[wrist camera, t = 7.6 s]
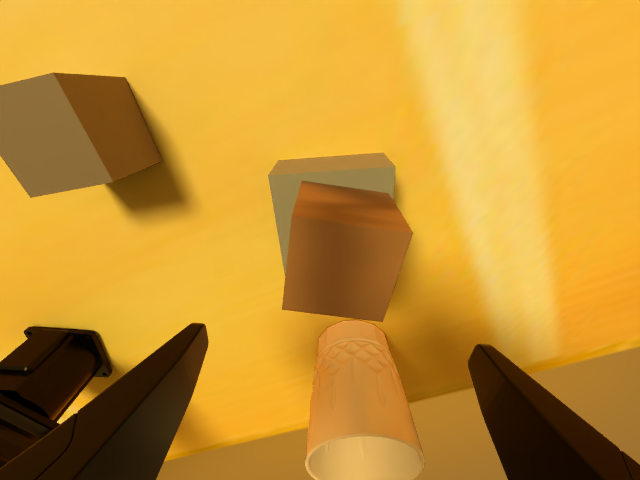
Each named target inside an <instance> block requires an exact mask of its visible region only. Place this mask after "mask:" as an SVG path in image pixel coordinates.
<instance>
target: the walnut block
mask: <svg viewBox="0 0 640 480" xmlns="http://www.w3.org/2000/svg"><path fill="white" fill-rule="evenodd" d="M412 234H413V232H412V231H411V229H410V227H409V226H408V224H407V222H406V221H405V219H404V217H403V216H402V214H401V212H400V211H399V209H398V208H397V206H396V204H395V203H394V201H393V199H392V198H391V196H390V194H389V193H383V192H377V191H370V190H363V189H356V188H349V187H342V186H336V185H329V184H322V183H315V182H308V181H301V184H300V188H299V192H298V195H297V199H296V202H295V206H294V209H293V213H292V217H291V227H290V237H289V247H288V256H287V266H286V276H285V286H284V296H283V305H282V310H290V311H298V312H306V313H314V314H322V315H330V316H339V317H347V318H355V319H363V320H371V321H379V322H383V319H384V316H385V313H386V310H387V308H388V305H389V302H390V299H391V296H392V293H393V290H394V287H395V284H396V281H397V278H398V275H399V272H400V270H401V267H402V264H403V261H404V258H405V255H406V252H407V249H408V246H409V243H410V240H411V237H412Z"/></svg>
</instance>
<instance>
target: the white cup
mask: <svg viewBox="0 0 640 480" xmlns="http://www.w3.org/2000/svg"><path fill="white" fill-rule="evenodd" d="M424 466H425V458H424V455H423V451H422V448H421V445H420V442H419V439H418V435H417V432H416V428H415V425H414V422H413V419H412V415H411V412H410V409H409V405H408V402H407V398H406V395H405V392H404V389H403V387H402V383H401V380H400V376H399V374H398V371H397V368H396V364H395V361H394V360H393V358H392V356H391V353H390V349H389V346H388V343H387V340H386V337H385V335H384V332H383V331H381V330H380V329H379V328H377V327H376V326H375V325H374V324H371V323H368V322H364V321H360V320H350V321H341V322H339V323H336V324H334V325H332V326H330V327H328V328H327V329H326V330H325V331H324V333H323V334H322V335H321V336H320V337H319V344H318V353H317V362H316V365H315V370H314V379H313V388H312V395H311V404H310V416H309V427H308V436H307V447H306V457H305V467H306V470H307V472H308V473H309V475H310V476H311V477H313V478H314V479H315V480H414V479H415V478H416V477H417V476H419V474H420V473H421V472H422V471H423V469H424Z"/></svg>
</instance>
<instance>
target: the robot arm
mask: <svg viewBox="0 0 640 480" xmlns="http://www.w3.org/2000/svg"><path fill="white" fill-rule="evenodd" d="M24 334H25V335H26V337H27V338H28V339H27V340H26V341H25V342H24V343H22V344H21V345H20V346H19V347H18V348H16V349H15V350H14V351H13V352H12V353H10V354H9V355H8V356H7V357H6V358H4V359H3V360H2V361H1V362H0V480H156V478H157V476H158V473H159V471H160V469H161V467H162V464H163V462H164V460H165V457H166V455H167V453H168V450H169V448H170V446H171V444H172V441H173V439H174V437H175V434H176V432H177V430H178V427H179V425H180V423H181V421H182V418H183V416H184V414H185V411H186V409H187V407H188V405H189V402H190V400H191V397H192V395H193V392H194V389H195V386H196V383H197V380H198V376H199V373H200V370H201V367H202V364H203V361H204V358H205V354H206V351H207V348H208V336H207V330H206V326H205V324H203V323H192V324H190V325H188V326H187V327H186V328H184V329H183V330H182V331H181V332H179V333H178V334H177V335H175V336H174V337H173V338H172V339H170V340H169V341H168V342H166V343H165V344H164V345H163V346H161V347H160V348H159V349H157V350H156V351H155V352H154V353H152V354H151V355H150V356H148V357H147V358H146V359H144V360H143V361H142V362H141V363H139V364H138V365H137V366H135V367H134V368H133V369H132V370H130V371H129V372H128V373H126V374H125V375H124V376H123V377H121V378H120V379H119V380H117V381H116V382H115V383H113V384H112V385H111V386H110V387H108V388H107V389H106V390H104V391H103V392H102V393H101V394H99V395H98V396H97V397H95V398H94V399H93V400H92V401H90V402H89V403H88V404H86V405H85V406H84V407H83V408H81V409H80V410H79V411H78V413H75V414H73V415H72V416H71V417H69V418H68V419H67V420H66V421H64V422H63V423H62V424H59V423H57V421H58V420H59V419H60V417H61V416H62V415H63V414H64V412H65V411H66V410H67V409H68V407H69V406H70V405H71V404H72V403H73V401H74V400H75V399H76V398H77V396H78V395H79V394H80V393H81V391H82V390H83V389H84V388H85V387H86V385H87V384H88V383H89V382H90V380H91V379H92V378H93V377H94V376H95V377H109V376H110V375H111V373H112V370H111V368H110V365H109V363H108V361H107V359H106V356H105V354H104V352H103V350H102V347H101V345H100V343H99V341H98V338H97V336H96V334H95V333H94V332H92V331H86V330H72V329H57V328H43V327H28V328H27V329H26V330H24ZM468 367H469V371H470V374H471V378H472V381H473V385H474V388H475V391H476V395H477V398H478V402H479V405H480V409H481V412H482V415H483V417H484V420H485V423H486V425H487V428H488V430H489V433H490V435H491V438H492V441H493V443H494V445H495V448H496V451H497V453H498V456H499V458H500V461H501V463H502V465H503V468H504V471H505V473H506V476H507V478H508V480H640V465H639V464H638V463H637V462H636V461H634V460H633V459H632V458H631V457H629V456H628V455H627V454H626V453H624V452H623V451H620V449H619V448H618V447H617V446H616V445H614V444H613V443H612V442H611V441H609V440H608V439H607V438H606V437H604V436H603V435H602V434H601V433H599V432H598V431H597V430H596V429H595V428H593V427H592V426H591V425H590V424H588V423H587V422H586V421H585V420H583V419H582V418H581V417H580V416H578V415H577V414H576V413H574V412H573V411H572V410H571V409H570V408H568V407H567V406H566V405H565V404H563V403H562V402H561V401H560V400H559V399H557V398H556V397H555V396H553V395H552V394H551V393H550V392H549V391H547V390H546V389H545V388H543V387H542V386H541V385H540V384H539V383H537V382H536V381H535V380H533V379H532V378H531V377H530V376H529V375H527V374H526V373H525V372H524V371H522V370H521V369H520V368H519V367H518V366H516V365H515V364H514V363H513V362H511V361H510V360H509V359H508V358H506V357H505V356H504V355H503V354H501V353H500V352H499V351H498V350H496V349H495V348H494V347H493V346H491V345H486V344H477V345H476V346H475V348H474V350H473V352H472V354H471V356H470V358H469V360H468Z"/></svg>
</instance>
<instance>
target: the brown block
mask: <svg viewBox="0 0 640 480" xmlns="http://www.w3.org/2000/svg"><path fill="white" fill-rule="evenodd" d="M0 156H1V157H2V159H3V160H4V161H5V163H6V164H7V165H8V167H9V168H10V170H11V171H12V172H13V174H14V175H15V177H16V178H17V179H18V181H19V182H20V184H21V185H22V186H23V188H24V189H25V191H26V192H27V193H28V195H29V196H30V198H32V197H37V196H42V195H47V194H53V193H58V192H63V191H69V190H74V189H79V188H85V187H90V186H95V185H101V184H106V183H111V182H115V181H117V180H119V179H122V178H124V177H126V176H129V175H131V174H133V173H136V172H138V171H140V170H143V169H145V168H147V167H150V166H152V165H154V164H157V163H159V162H161V161H162V158H161V156H160V154H159V152H158V149H157V147H156V145H155V143H154V141H153V138H152V136H151V134H150V132H149V129H148V127H147V125H146V123H145V121H144V118H143V116H142V114H141V112H140V109H139V107H138V105H137V103H136V100H135V98H134V96H133V94H132V92H131V89H130V87H129V85H128V83H127V80H126V78H125V77H112V76H96V75H80V74H64V73H50V74H46V75H42V76H38V77H34V78H30V79H25V80H21V81H17V82H13V83H9V84H5V85H1V86H0Z"/></svg>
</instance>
